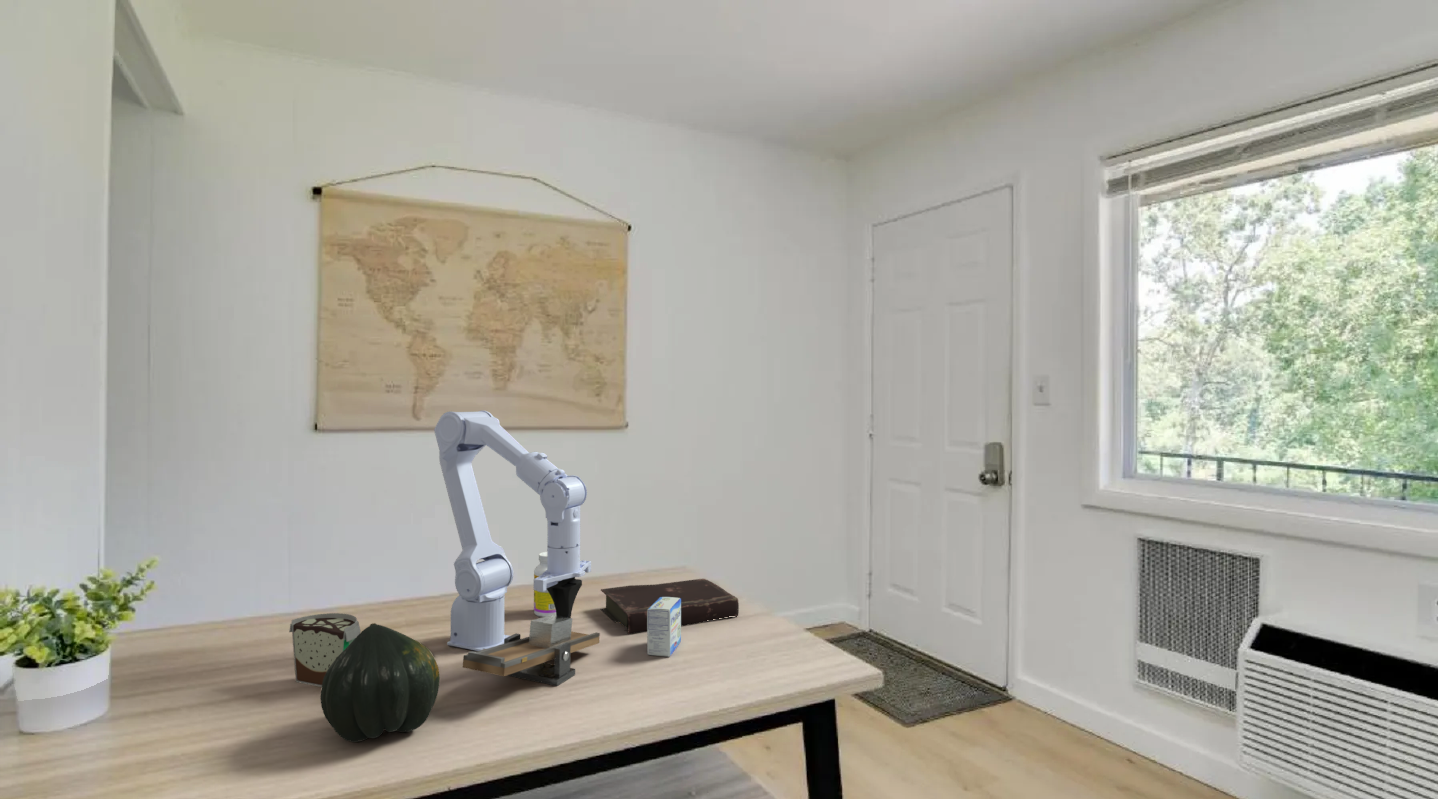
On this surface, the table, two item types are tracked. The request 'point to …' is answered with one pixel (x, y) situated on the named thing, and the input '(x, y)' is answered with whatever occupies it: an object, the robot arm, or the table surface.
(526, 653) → the beam
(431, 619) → the table surface
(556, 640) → the block
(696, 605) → the diary
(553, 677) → the stand
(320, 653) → the food container
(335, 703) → the squash
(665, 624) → the medicine box
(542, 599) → the supplement bottle
